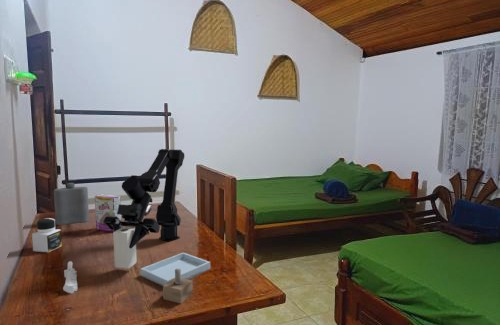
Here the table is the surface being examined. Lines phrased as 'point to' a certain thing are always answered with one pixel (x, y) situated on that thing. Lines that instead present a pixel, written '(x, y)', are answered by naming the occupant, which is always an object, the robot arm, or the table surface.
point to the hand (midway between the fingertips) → (122, 247)
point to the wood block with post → (178, 288)
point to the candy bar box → (106, 209)
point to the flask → (71, 205)
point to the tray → (166, 268)
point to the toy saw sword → (70, 279)
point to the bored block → (124, 248)
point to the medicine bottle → (46, 236)
